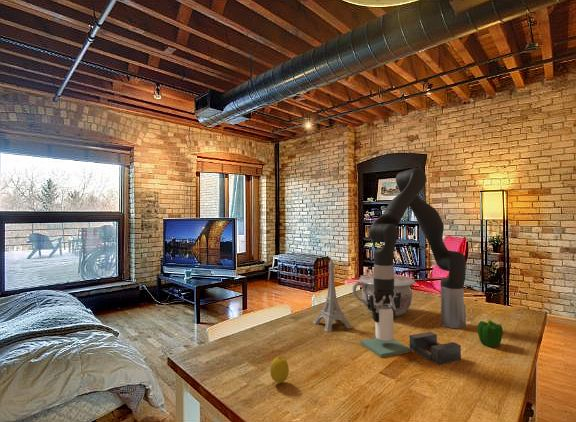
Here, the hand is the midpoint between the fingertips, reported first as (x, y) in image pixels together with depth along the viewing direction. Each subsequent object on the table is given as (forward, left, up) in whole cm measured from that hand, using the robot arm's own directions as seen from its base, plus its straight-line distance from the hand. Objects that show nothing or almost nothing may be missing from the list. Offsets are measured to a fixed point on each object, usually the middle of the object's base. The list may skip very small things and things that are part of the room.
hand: (384, 320), depth 120 cm
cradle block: (-13, +11, -10) cm, 20 cm away
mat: (0, 0, -10) cm, 10 cm away
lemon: (+45, +10, -10) cm, 47 cm away
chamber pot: (-27, -35, -10) cm, 45 cm away
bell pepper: (-39, +12, -10) cm, 42 cm away
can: (0, 0, -7) cm, 7 cm away
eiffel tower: (+7, -29, -10) cm, 32 cm away
